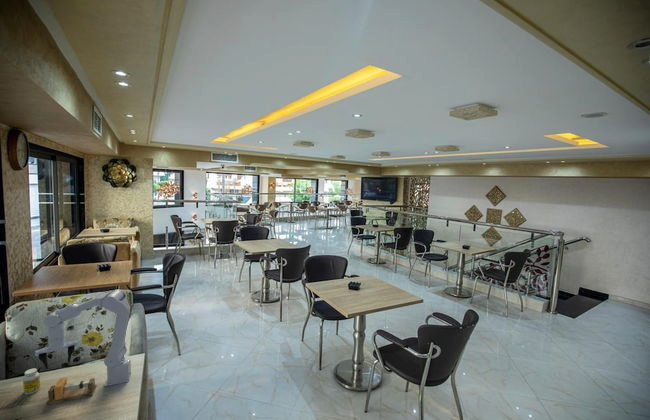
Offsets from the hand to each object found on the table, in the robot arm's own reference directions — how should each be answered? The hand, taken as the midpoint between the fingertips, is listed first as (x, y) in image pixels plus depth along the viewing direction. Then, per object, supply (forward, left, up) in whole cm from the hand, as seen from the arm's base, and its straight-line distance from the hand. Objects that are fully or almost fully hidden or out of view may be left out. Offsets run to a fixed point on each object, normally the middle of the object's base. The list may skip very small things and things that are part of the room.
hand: (58, 364), depth 140 cm
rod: (-8, +10, -7) cm, 15 cm away
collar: (-4, +10, -9) cm, 14 cm away
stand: (-8, +10, -10) cm, 16 cm away
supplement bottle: (+10, 0, -10) cm, 14 cm away
